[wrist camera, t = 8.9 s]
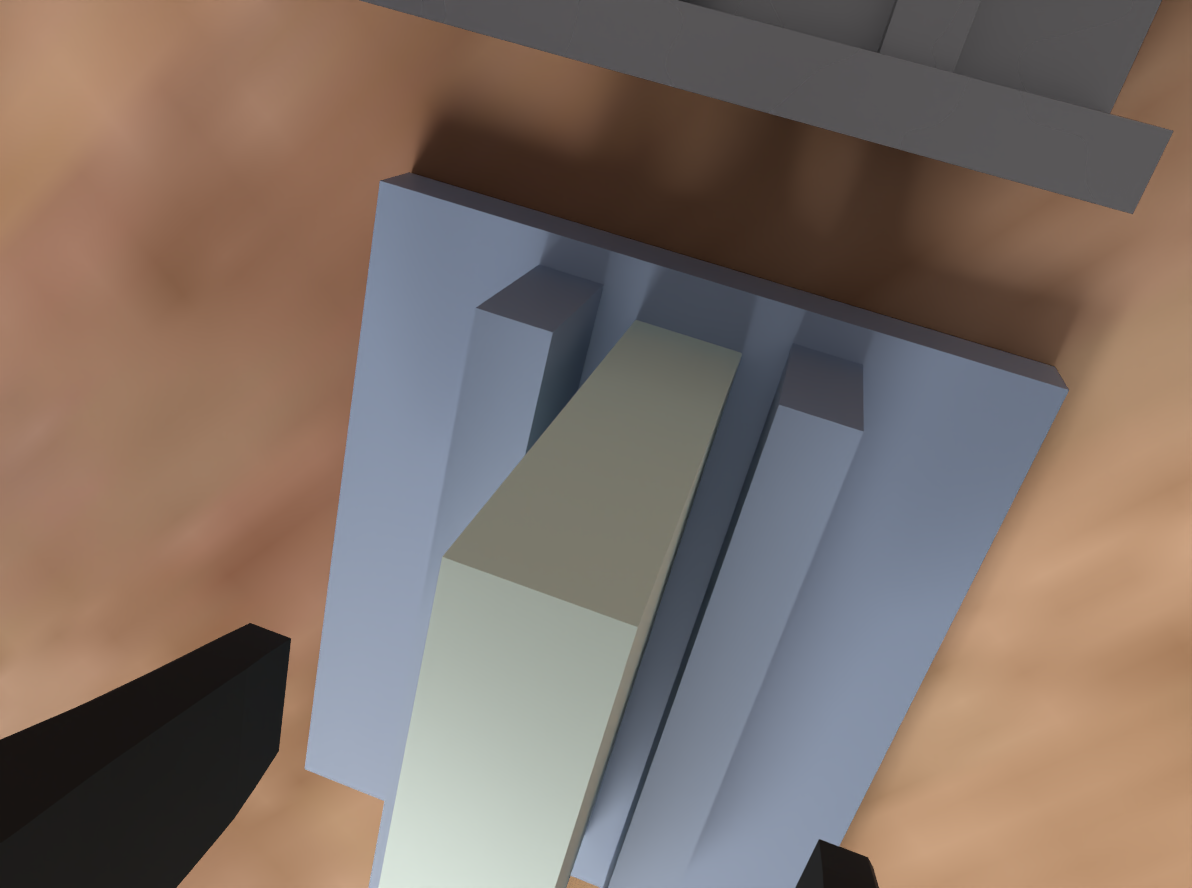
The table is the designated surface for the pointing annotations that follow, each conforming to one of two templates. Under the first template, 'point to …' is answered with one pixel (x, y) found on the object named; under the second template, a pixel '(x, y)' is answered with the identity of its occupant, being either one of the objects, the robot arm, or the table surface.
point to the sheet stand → (711, 537)
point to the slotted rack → (881, 72)
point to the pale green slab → (552, 622)
